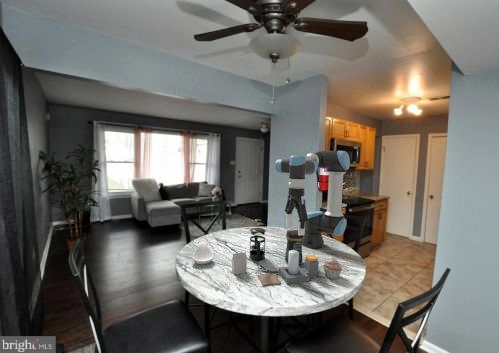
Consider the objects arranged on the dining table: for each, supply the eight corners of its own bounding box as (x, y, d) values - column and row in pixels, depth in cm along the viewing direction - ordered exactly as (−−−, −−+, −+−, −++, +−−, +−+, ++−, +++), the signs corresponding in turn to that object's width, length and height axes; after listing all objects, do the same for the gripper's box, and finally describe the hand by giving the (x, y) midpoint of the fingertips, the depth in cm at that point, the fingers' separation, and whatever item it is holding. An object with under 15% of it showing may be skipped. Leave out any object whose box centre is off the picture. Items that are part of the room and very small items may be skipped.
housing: (309, 269, 124) (310, 255, 123) (321, 280, 113) (322, 264, 112) (278, 273, 119) (278, 258, 119) (287, 284, 108) (287, 268, 108)
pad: (274, 274, 118) (274, 273, 117) (281, 283, 109) (281, 282, 109) (257, 276, 115) (257, 275, 115) (262, 286, 107) (263, 284, 107)
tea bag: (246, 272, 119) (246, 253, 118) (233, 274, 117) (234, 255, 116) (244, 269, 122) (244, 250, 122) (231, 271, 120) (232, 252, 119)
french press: (266, 261, 132) (267, 222, 131) (250, 262, 131) (251, 222, 129) (263, 253, 144) (264, 216, 142) (247, 253, 143) (248, 216, 141)
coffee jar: (288, 265, 128) (289, 232, 126) (283, 259, 136) (284, 228, 134) (304, 264, 130) (306, 232, 128) (298, 258, 137) (300, 227, 136)
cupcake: (324, 270, 124) (325, 252, 123) (343, 275, 119) (344, 256, 118) (320, 277, 116) (321, 258, 115) (339, 283, 111) (341, 263, 110)
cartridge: (295, 274, 118) (296, 249, 117) (299, 279, 113) (300, 253, 112) (286, 275, 117) (287, 250, 116) (290, 280, 112) (291, 254, 111)
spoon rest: (214, 266, 125) (214, 253, 125) (192, 268, 123) (192, 255, 122) (210, 249, 148) (211, 238, 148) (191, 250, 145) (192, 239, 145)
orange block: (313, 265, 120) (313, 254, 120) (317, 269, 116) (318, 258, 115) (304, 266, 119) (305, 255, 119) (309, 270, 115) (310, 259, 114)
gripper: (279, 184, 123) (278, 223, 124) (301, 191, 99) (299, 239, 100) (292, 184, 125) (290, 223, 126) (317, 191, 101) (314, 238, 102)
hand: (294, 230), depth 113 cm, fingers open, 13 cm apart
